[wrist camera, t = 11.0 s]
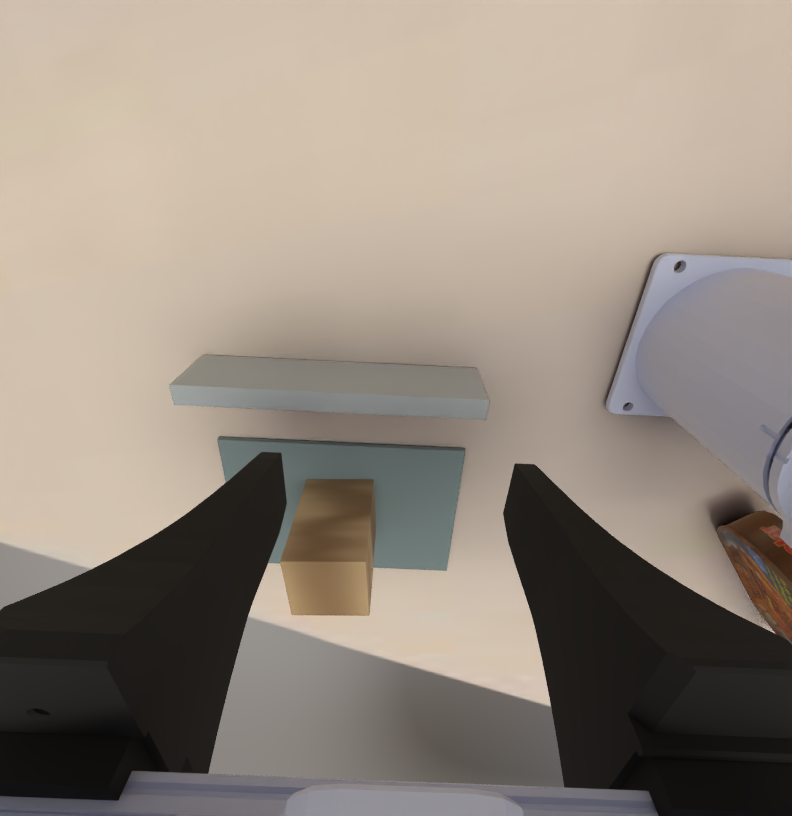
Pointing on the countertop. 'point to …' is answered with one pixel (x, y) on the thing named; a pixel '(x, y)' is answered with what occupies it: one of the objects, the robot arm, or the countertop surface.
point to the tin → (763, 566)
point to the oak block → (331, 548)
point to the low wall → (332, 387)
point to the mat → (393, 488)
